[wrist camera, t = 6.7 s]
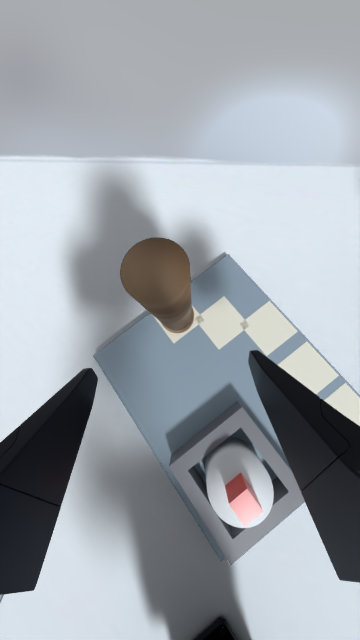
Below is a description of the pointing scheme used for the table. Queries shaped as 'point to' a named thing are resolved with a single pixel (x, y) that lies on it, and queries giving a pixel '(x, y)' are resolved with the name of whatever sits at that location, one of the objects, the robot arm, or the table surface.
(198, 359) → the board
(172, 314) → the brown wooden cylinder
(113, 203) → the table surface
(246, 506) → the dome button
